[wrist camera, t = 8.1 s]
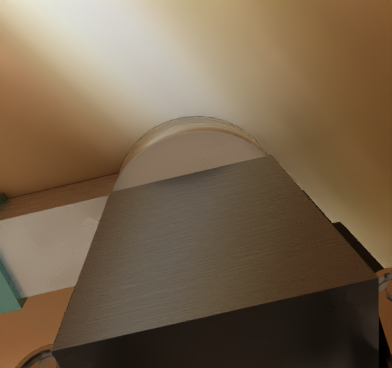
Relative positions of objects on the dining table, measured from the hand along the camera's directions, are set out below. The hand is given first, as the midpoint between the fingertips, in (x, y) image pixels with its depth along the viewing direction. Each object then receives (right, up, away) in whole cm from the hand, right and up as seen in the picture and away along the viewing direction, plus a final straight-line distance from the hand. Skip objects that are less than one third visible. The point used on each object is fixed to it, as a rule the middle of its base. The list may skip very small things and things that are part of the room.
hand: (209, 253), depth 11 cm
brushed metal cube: (0, 0, +1) cm, 1 cm away
